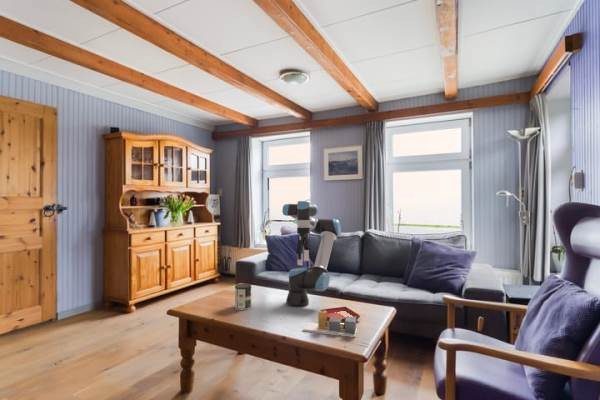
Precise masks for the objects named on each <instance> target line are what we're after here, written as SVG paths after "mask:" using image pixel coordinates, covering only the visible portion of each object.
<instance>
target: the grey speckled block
mask: <svg viewBox="0 0 600 400" xmlns="http://www.w3.org/2000/svg"><path fill="white" fill-rule="evenodd" d="M328 321H329V331H336V332H340V324H341V323H343V322H342V318H333V317H331V318H330V320H329V319H328Z"/></svg>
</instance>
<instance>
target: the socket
mask: <svg viewBox="0 0 600 400" xmlns="http://www.w3.org/2000/svg"><path fill="white" fill-rule="evenodd" d="M344 323H345V333H347V334H355V332H356V328H357V320H356V317H349V316H347V317H346V320H345V322H344Z"/></svg>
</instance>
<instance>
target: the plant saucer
mask: <svg viewBox="0 0 600 400" xmlns="http://www.w3.org/2000/svg"><path fill="white" fill-rule="evenodd" d="M321 310H322V311H327V320H328V321H329V320H330V318H331V317H333V318H342V323H345V320H346V317H344V316H343V315H341V314H340V313H339V314H338V313H337V312H340V311H346V312H347V313H349V314H350V315H352V316H353V317H356V321H357V320H359V318H361V315H360V314H359V313H357V312H355V311H354V310H352V309H351V308H349V307H347V306H338V307H332V308H331V307H330V308H325V309H324V308H322V309H321ZM335 312H336V313H335Z"/></svg>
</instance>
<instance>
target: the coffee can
mask: <svg viewBox="0 0 600 400" xmlns="http://www.w3.org/2000/svg"><path fill="white" fill-rule="evenodd" d="M234 290H235V292H234V295H235V296H234V298H235V299H234V301H235V303H234V306H235V307H234V309H235V310H238V311H247V310H250V309H251V308H252V284H250V283H238V284H236V285H234Z"/></svg>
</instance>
